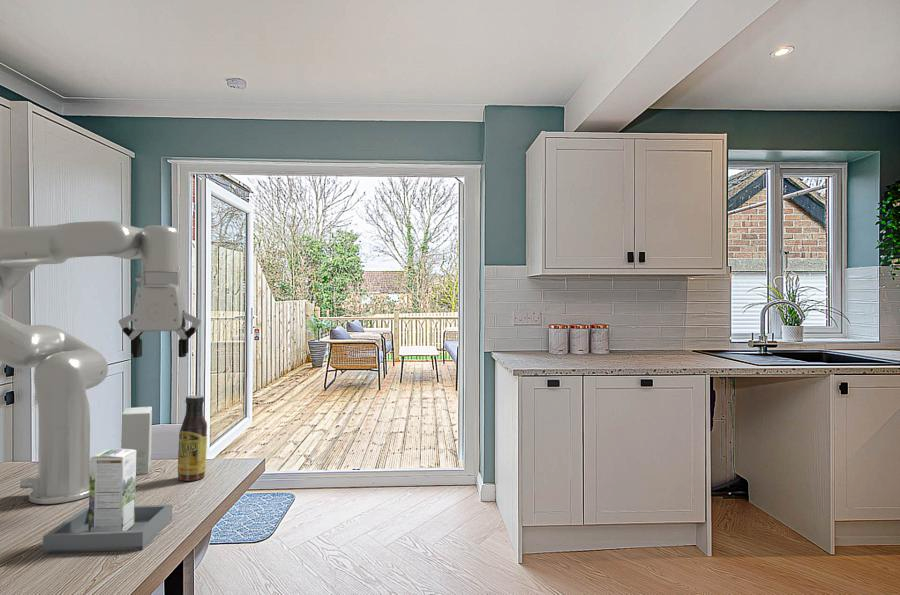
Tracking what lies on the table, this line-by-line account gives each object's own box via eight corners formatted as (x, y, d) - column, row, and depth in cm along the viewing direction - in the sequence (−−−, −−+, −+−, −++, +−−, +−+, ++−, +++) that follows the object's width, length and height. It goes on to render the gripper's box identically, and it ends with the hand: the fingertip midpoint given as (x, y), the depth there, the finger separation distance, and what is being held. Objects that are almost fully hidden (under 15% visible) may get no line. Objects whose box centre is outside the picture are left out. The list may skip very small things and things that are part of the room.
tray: (42, 554, 99) (43, 536, 99) (85, 523, 113) (85, 507, 113) (142, 549, 101) (142, 532, 101) (172, 519, 115) (172, 504, 115)
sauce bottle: (171, 481, 139) (172, 397, 140) (189, 473, 146) (189, 393, 146) (196, 483, 138) (196, 398, 138) (212, 475, 144) (212, 394, 144)
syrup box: (103, 526, 109) (103, 448, 110) (136, 525, 110) (136, 447, 110) (87, 538, 104) (88, 456, 104) (122, 537, 104) (123, 455, 105)
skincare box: (123, 468, 151) (124, 407, 151) (152, 465, 153) (153, 405, 153) (119, 477, 143) (120, 413, 143) (150, 474, 145) (150, 411, 146)
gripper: (112, 280, 127) (111, 359, 127) (195, 280, 129) (194, 358, 129) (127, 281, 135) (126, 356, 135) (205, 281, 137) (205, 355, 136)
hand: (160, 357), depth 132 cm, fingers open, 9 cm apart
